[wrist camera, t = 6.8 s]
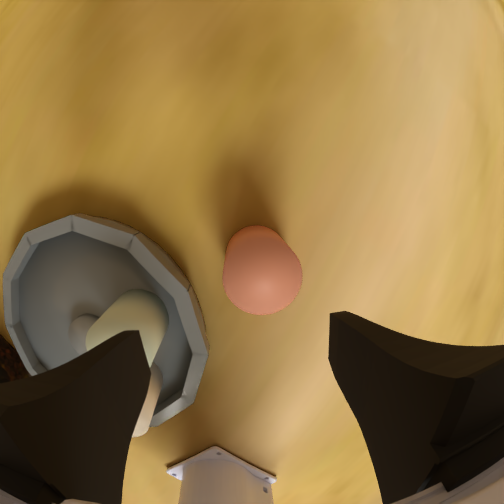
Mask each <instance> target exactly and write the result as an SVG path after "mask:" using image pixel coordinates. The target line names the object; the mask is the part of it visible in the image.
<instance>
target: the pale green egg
mask: <svg viewBox="0 0 504 504" xmlns="http://www.w3.org/2000/svg"><path fill="white" fill-rule="evenodd" d="M168 325H169V314H168V311H167V308H166V306H165V304H164V303H163V302H162V300H161V299H160V298H159V297H158V296H156V295H155V294H154V293H152V292H150V291H147V290H144V289H131V290H128V291H126V292H125V293H123V294H122V295H121V296H120V297H119V298H118V299H117V300H116V301H115V302H114V303H113V304H112V305H111V306H110V307H109V308H108V309H107V310H106V311H105V312H104V314H103V315H102V316H101V317H100V318H99V319H98V320H97V321H96V322H95V323H94V324H93V325H92V326H91V327H90V329H89V330H88V332H87V335H86V349H87V351H89V350H90V349H92V348H94V347H95V346H97V345H99V344H100V343H102V342H104V341H105V340H107V339H109V338H111V337H112V336H114V335H116V334H118V333H120V332H122V331H125V330H139V332H140V336H141V339H142V343H143V347H144V350H145V354H146V357H147V361H148V364H149V367H151V364H152V362H153V360H154V357H155V355H156V353H157V350H158V348H159V346H160V344H161V341H162V339H163V337H164V335H165V333H166V330H167V328H168Z"/></svg>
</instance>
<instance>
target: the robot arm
mask: <svg viewBox="0 0 504 504" xmlns="http://www.w3.org/2000/svg"><path fill="white" fill-rule="evenodd" d="M328 359H329V362H330V365H331V368H332V371H333V374H334V376H335V379H336V381H337V383H338V385H339V387H340V389H341V391H342V393H343V394H344V396H345V398H346V400H347V402H348V404H349V406H350V408H351V410H352V411H353V413H354V415H355V417H356V419H357V421H358V423H359V426H360V428H361V430H362V433H363V436H364V439H365V442H366V444H367V447H368V450H369V453H370V457H371V460H372V463H373V466H374V470H375V473H376V477H377V481H378V484H379V488H380V493H381V497H382V502H383V504H504V345H496V346H458V345H449V344H442V343H436V342H430V341H426V340H422V339H418V338H414V337H411V336H407V335H404V334H402V333H399V332H396V331H393V330H390V329H388V328H385V327H383V326H381V325H378V324H376V323H374V322H371V321H369V320H367V319H364V318H362V317H360V316H358V315H355V314H353V313H350V312H347V311H342V312H335V313H330V330H329V357H328ZM150 378H151V370H150V367H149V364H148V361H147V357H146V354H145V350H144V347H143V343H142V339H141V336H140V332H139V330H125V331H122V332H120V333H118V334H116V335H114V336H112V337H111V338H109V339H107V340H105V341H104V342H102V343H100V344H99V345H97V346H95V347H94V348H92V349H90V350H89V351H87V352H85V353H83V354H81V355H80V356H78V357H76V358H74V359H72V360H71V361H69V362H67V363H65V364H62V365H60V366H58V367H56V368H53V369H51V370H48V371H46V372H43V373H40V374H37V375H34V376H30V377H27V378H24V379H20V380H15V381H11V382H5V383H0V504H121V502H122V488H123V479H124V472H125V465H126V460H127V454H128V449H129V445H130V441H131V438H132V435H133V432H134V429H135V426H136V424H137V421H138V418H139V415H140V413H141V410H142V407H143V405H144V402H145V399H146V396H147V393H148V388H149V384H150ZM166 472H167V473H168V474H170V475H172V476H173V477H175V478H177V479H179V480H181V481H182V482H181V489H180V497H179V504H273V496H272V488H271V484H272V483H274V482H276V481H277V478H276V477H274V476H272V475H270V474H268V473H266V472H264V471H262V470H260V469H258V468H256V467H254V466H252V465H250V464H248V463H246V462H244V461H243V460H241V459H239V458H237V457H235V456H233V455H232V454H230V453H228V452H226V451H225V450H223V449H221V448H220V447H217V446H213V447H210V448H208V449H207V450H205V451H203V452H201V453H199V454H197V455H195V456H193V457H191V458H189V459H187V460H185V461H182V462H180V463H178V464H176V465H174V466H172V467H169V468H167V471H166Z"/></svg>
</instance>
